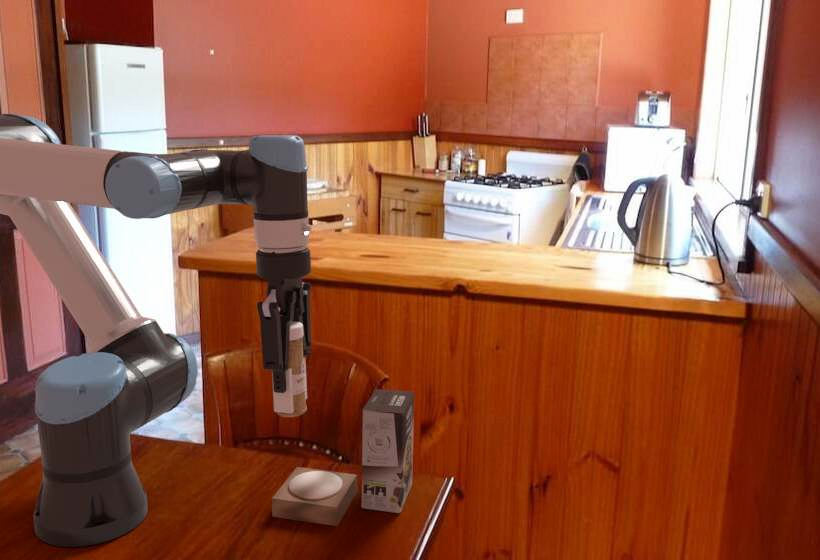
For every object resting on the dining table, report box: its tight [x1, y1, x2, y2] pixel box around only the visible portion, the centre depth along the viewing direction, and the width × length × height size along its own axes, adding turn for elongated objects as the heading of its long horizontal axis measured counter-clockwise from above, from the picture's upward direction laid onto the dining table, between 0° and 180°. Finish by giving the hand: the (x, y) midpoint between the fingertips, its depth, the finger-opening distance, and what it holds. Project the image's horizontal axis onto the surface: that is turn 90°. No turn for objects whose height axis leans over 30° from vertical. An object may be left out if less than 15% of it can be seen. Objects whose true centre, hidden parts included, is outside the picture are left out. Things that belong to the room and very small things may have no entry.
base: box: [271, 466, 358, 527], centre depth 112 cm, size 10×10×3 cm
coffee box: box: [361, 388, 415, 514], centre depth 113 cm, size 9×6×16 cm
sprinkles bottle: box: [275, 321, 308, 418], centre depth 106 cm, size 5×5×13 cm
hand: (291, 404), depth 108 cm, fingers closed on sprinkles bottle, 4 cm apart
